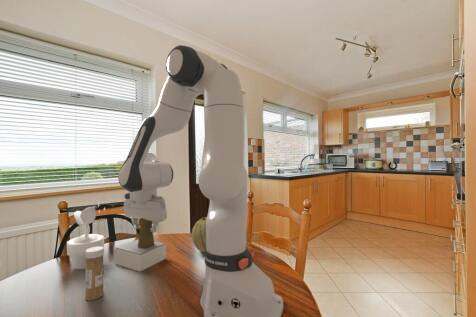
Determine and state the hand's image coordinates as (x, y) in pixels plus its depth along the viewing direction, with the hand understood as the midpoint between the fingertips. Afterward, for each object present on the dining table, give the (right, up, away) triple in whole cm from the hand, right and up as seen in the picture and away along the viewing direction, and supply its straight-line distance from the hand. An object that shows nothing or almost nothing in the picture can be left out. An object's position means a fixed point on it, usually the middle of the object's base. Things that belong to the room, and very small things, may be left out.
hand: (144, 230), depth 87 cm
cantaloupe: (+24, -12, +9) cm, 28 cm away
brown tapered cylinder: (+1, -6, -1) cm, 6 cm away
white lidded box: (-1, -12, -1) cm, 12 cm away
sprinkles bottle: (-5, -11, -23) cm, 26 cm away
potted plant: (-20, -12, -4) cm, 24 cm away
